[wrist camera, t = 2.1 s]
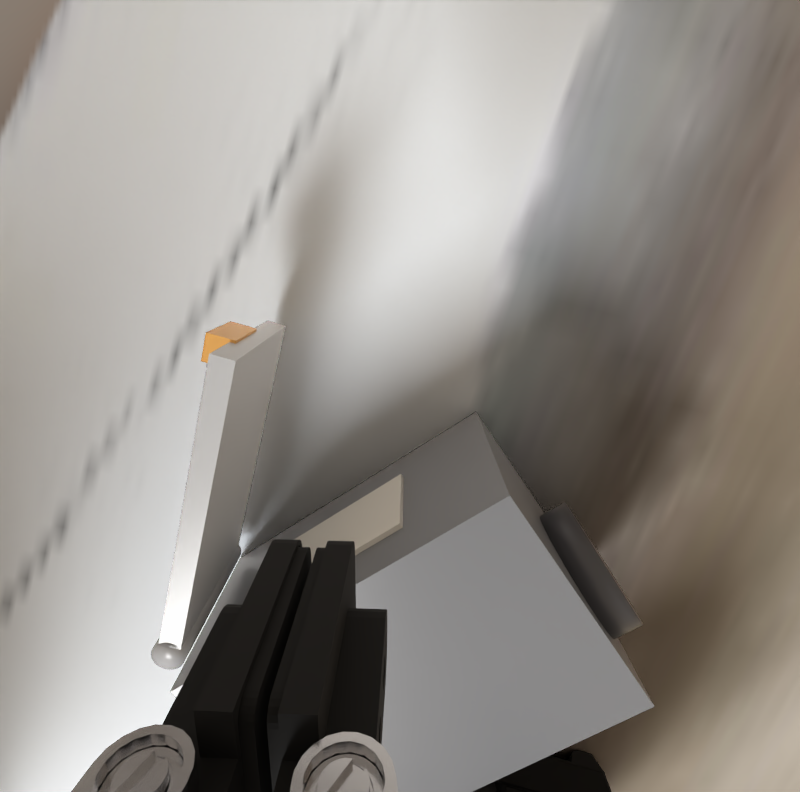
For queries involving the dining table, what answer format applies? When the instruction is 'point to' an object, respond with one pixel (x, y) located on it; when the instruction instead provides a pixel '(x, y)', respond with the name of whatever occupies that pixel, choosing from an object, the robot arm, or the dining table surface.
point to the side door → (218, 478)
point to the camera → (554, 776)
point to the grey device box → (474, 613)
